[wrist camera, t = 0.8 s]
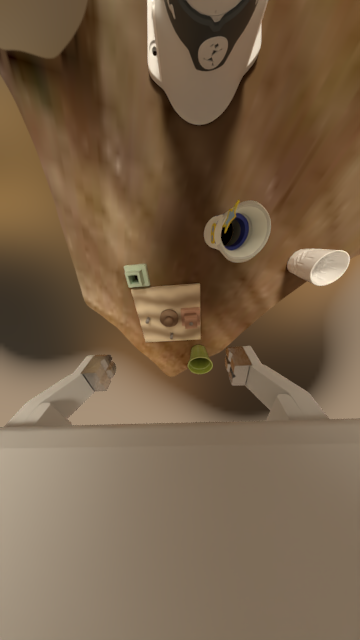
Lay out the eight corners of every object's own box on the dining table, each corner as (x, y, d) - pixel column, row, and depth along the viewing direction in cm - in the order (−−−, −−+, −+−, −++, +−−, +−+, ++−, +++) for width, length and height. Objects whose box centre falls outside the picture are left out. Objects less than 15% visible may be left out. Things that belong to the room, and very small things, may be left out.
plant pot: (191, 359, 63) (192, 376, 56) (183, 345, 59) (184, 361, 52) (211, 354, 61) (215, 370, 54) (205, 338, 57) (208, 354, 49)
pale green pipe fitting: (125, 265, 42) (119, 269, 38) (146, 263, 42) (142, 267, 38) (131, 286, 46) (125, 291, 42) (150, 284, 45) (147, 289, 41)
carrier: (132, 288, 46) (125, 296, 40) (199, 283, 45) (201, 290, 39) (146, 339, 58) (142, 352, 52) (200, 336, 56) (202, 349, 50)
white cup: (318, 261, 41) (354, 268, 32) (291, 280, 44) (317, 292, 35) (308, 239, 38) (344, 241, 29) (279, 261, 41) (304, 269, 33)
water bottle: (201, 252, 40) (222, 273, 19) (203, 214, 36) (232, 188, 14) (230, 250, 40) (284, 271, 19) (235, 213, 35) (315, 183, 14)
